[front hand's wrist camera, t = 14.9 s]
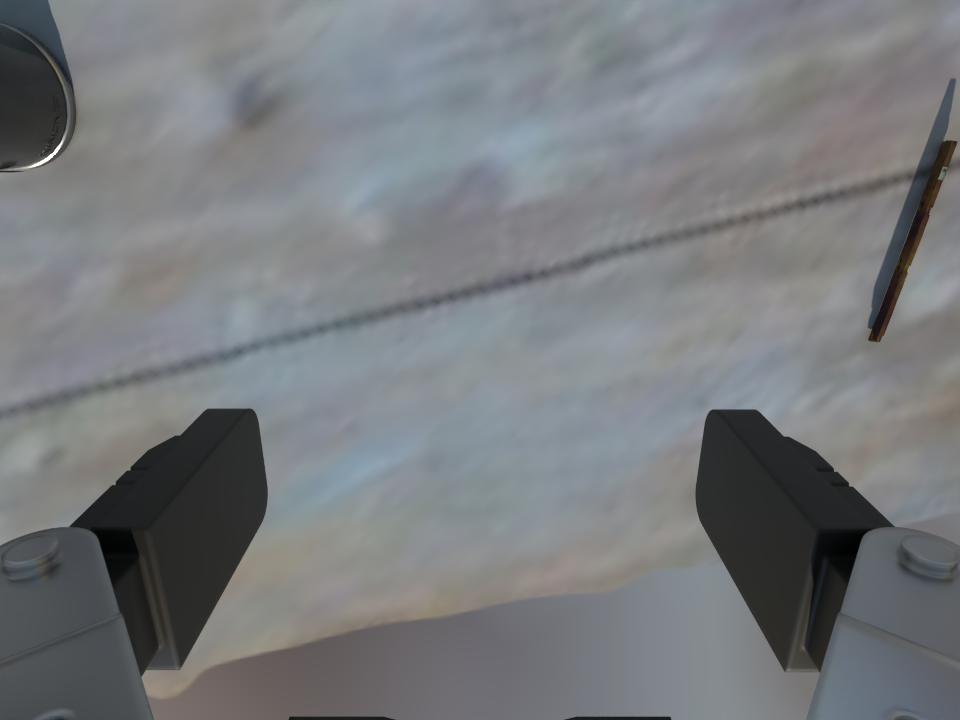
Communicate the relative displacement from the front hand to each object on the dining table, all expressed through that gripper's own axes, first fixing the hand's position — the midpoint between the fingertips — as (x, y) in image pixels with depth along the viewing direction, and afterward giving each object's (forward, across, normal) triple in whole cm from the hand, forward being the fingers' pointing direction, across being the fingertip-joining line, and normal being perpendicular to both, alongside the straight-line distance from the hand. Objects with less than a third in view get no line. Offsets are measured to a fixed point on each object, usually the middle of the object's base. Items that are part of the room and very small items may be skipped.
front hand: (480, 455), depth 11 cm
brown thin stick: (+37, -32, +3) cm, 49 cm away
